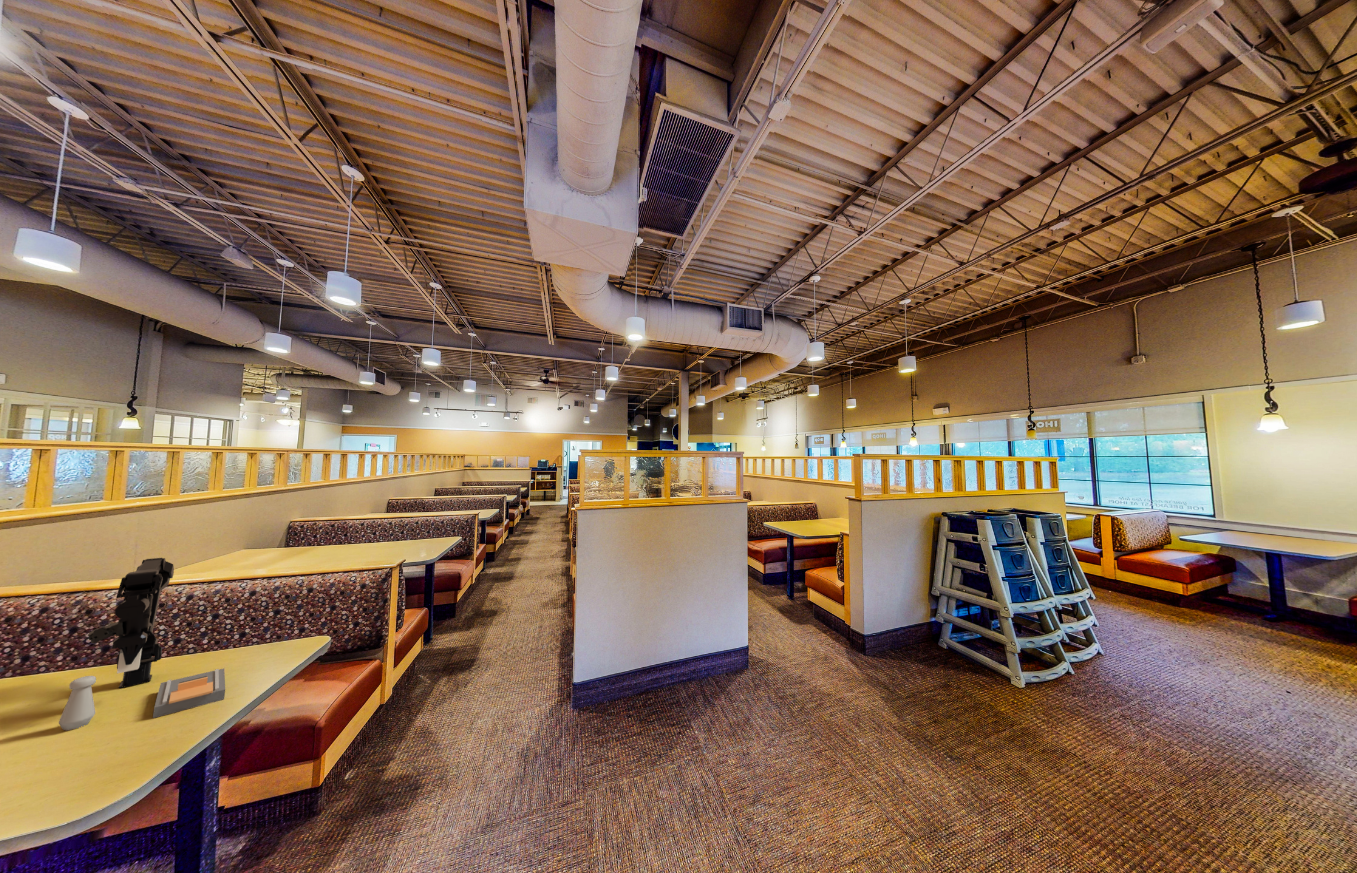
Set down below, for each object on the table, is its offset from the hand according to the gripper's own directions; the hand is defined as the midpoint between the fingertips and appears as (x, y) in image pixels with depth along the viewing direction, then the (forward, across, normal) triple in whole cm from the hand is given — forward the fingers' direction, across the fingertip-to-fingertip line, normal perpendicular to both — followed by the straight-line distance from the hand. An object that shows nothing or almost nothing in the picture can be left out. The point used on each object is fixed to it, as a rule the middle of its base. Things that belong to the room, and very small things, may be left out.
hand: (129, 662), depth 130 cm
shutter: (+8, +20, +14) cm, 25 cm away
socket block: (+11, +12, +14) cm, 22 cm away
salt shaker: (+12, +13, -7) cm, 19 cm away
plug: (+2, 0, 0) cm, 2 cm away
